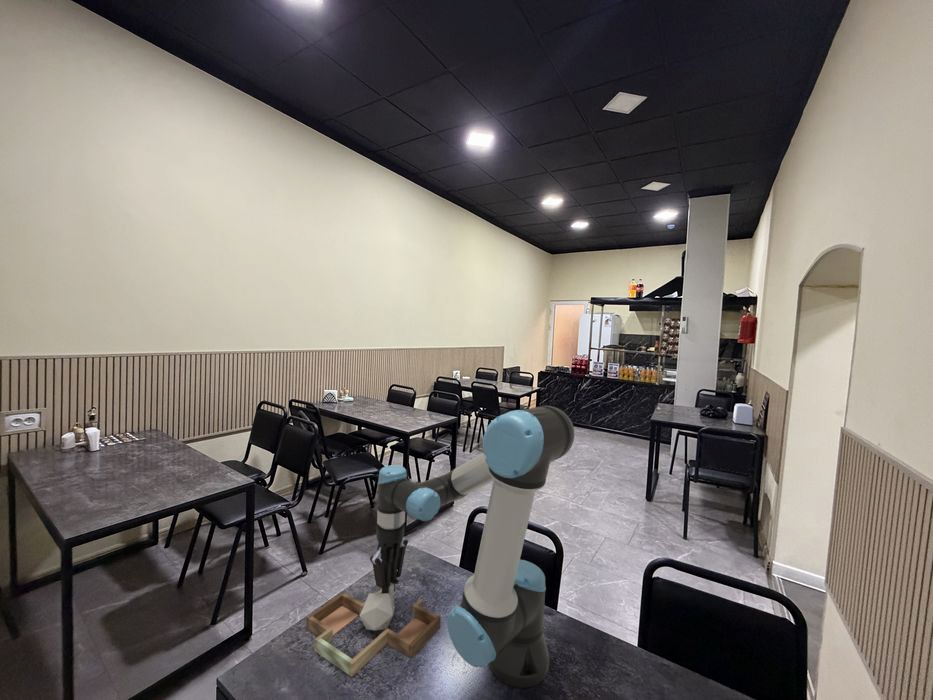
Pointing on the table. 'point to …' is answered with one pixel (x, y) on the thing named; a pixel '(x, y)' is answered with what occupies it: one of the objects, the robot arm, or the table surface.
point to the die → (377, 611)
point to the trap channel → (405, 641)
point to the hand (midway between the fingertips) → (387, 606)
